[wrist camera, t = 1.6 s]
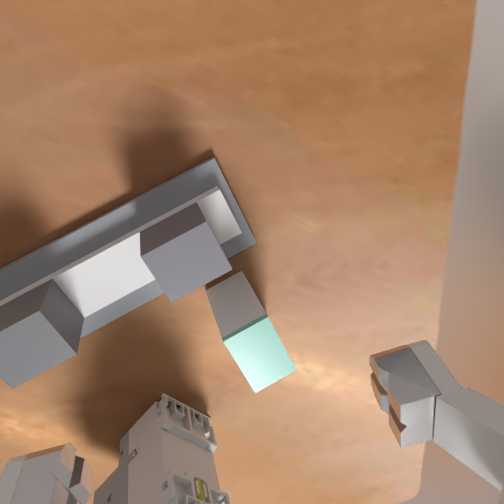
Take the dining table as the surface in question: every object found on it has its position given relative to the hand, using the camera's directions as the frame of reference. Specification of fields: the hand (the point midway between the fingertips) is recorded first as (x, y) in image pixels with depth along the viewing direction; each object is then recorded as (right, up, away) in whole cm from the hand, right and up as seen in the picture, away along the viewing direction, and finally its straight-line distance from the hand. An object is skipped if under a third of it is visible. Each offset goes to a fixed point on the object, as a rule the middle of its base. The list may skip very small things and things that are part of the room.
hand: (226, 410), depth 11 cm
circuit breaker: (-12, -20, +41) cm, 47 cm away
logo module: (-1, -2, +36) cm, 36 cm away
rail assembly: (-13, +3, +30) cm, 33 cm away
